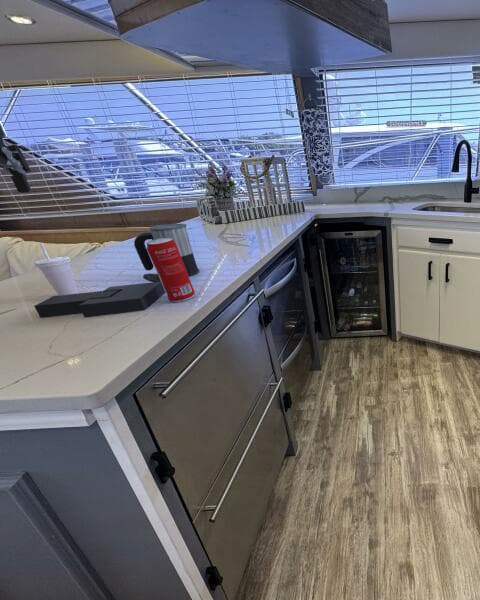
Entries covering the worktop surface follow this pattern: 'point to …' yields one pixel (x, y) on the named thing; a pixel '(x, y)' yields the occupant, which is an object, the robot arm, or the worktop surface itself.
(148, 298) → the notch pad
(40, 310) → the pad
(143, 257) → the milk frother
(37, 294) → the worktop surface
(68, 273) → the smoothie
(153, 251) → the beverage can
